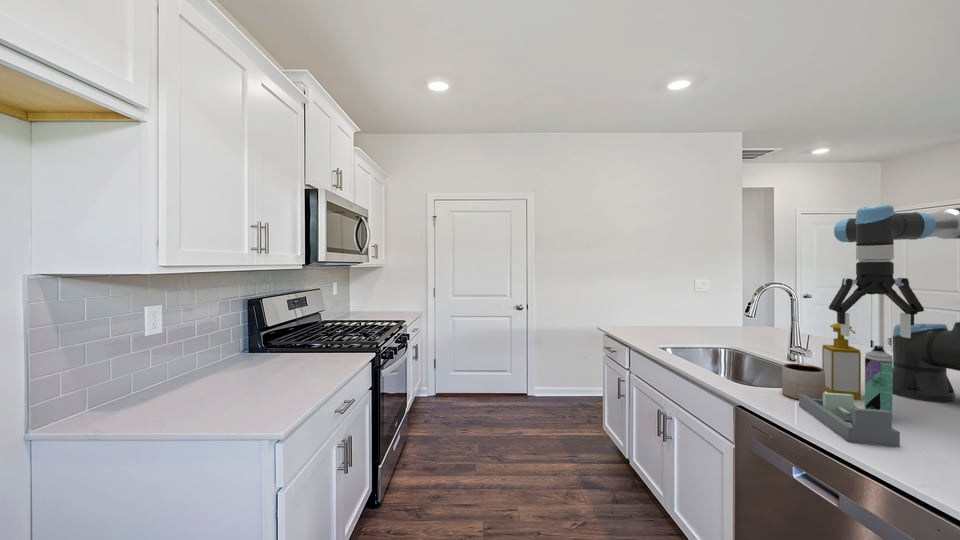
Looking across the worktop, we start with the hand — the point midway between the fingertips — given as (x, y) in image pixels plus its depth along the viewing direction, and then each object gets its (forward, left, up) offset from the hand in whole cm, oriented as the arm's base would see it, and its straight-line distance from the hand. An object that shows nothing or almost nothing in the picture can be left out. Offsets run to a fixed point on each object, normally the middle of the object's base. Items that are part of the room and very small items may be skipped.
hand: (874, 336), depth 112 cm
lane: (+11, +8, -23) cm, 27 cm away
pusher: (+11, +8, -23) cm, 27 cm away
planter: (+11, -14, -23) cm, 29 cm away
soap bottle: (-1, -16, -23) cm, 28 cm away
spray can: (-1, 0, -23) cm, 23 cm away
